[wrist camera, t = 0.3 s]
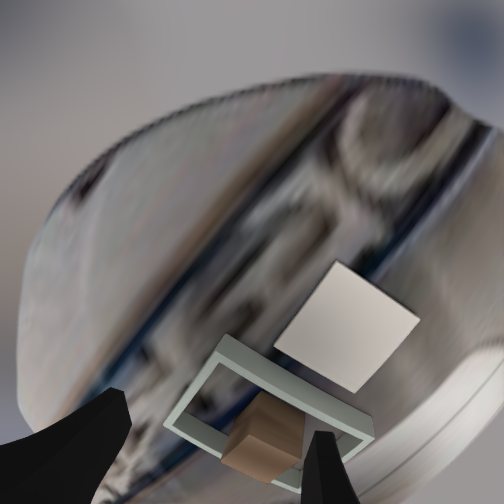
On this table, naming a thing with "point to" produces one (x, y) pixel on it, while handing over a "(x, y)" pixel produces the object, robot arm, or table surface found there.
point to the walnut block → (265, 439)
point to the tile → (346, 328)
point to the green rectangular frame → (282, 387)
